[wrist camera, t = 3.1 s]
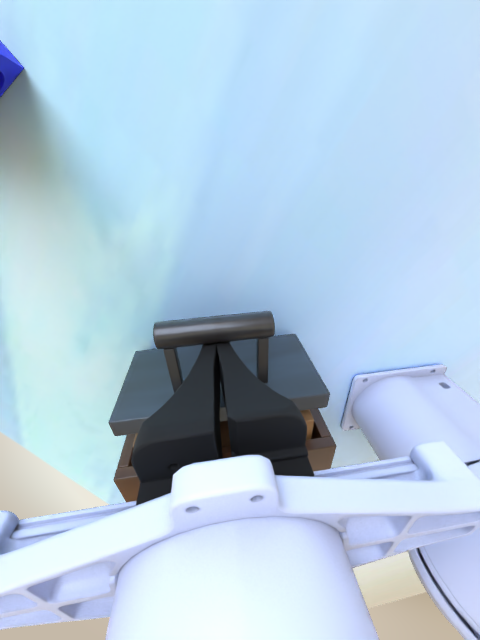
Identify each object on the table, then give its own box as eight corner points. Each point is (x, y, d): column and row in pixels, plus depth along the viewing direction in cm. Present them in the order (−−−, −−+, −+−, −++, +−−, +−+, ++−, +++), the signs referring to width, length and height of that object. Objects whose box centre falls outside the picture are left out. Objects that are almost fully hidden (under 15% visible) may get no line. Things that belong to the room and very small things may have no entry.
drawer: (116, 292, 16) (72, 351, 11) (300, 276, 17) (345, 322, 12) (167, 449, 25) (157, 525, 19) (286, 432, 26) (308, 499, 20)
